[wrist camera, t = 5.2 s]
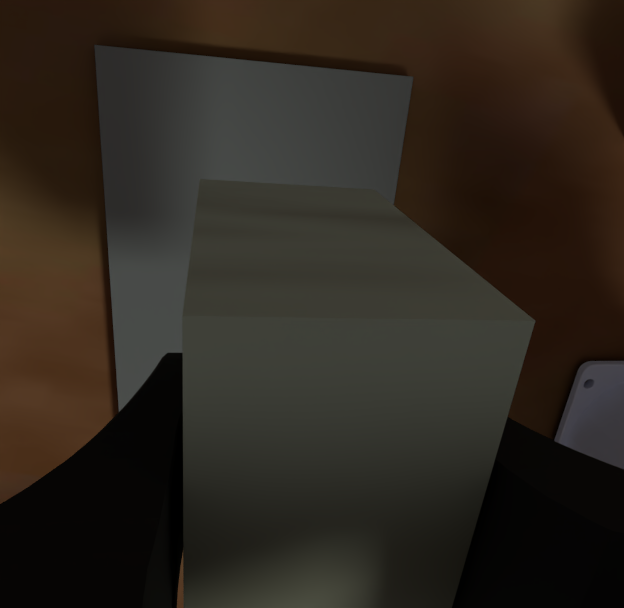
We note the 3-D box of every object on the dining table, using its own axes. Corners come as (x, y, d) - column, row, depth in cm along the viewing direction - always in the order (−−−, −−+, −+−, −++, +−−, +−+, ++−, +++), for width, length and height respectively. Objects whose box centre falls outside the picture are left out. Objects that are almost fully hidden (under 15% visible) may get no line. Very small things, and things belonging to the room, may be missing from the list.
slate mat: (357, 417, 24) (359, 423, 23) (121, 423, 22) (119, 429, 21) (409, 76, 18) (413, 76, 18) (97, 44, 16) (94, 44, 16)
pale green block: (336, 460, 16) (417, 727, 9) (197, 465, 15) (184, 759, 9) (374, 189, 12) (535, 321, 6) (199, 178, 12) (182, 315, 5)
